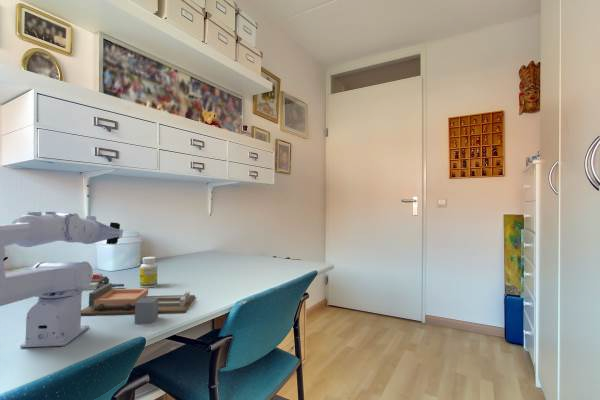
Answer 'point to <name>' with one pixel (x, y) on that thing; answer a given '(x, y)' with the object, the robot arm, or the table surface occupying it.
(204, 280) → the table surface
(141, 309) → the block
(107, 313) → the track
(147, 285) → the supplement bottle
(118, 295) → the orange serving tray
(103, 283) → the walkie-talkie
